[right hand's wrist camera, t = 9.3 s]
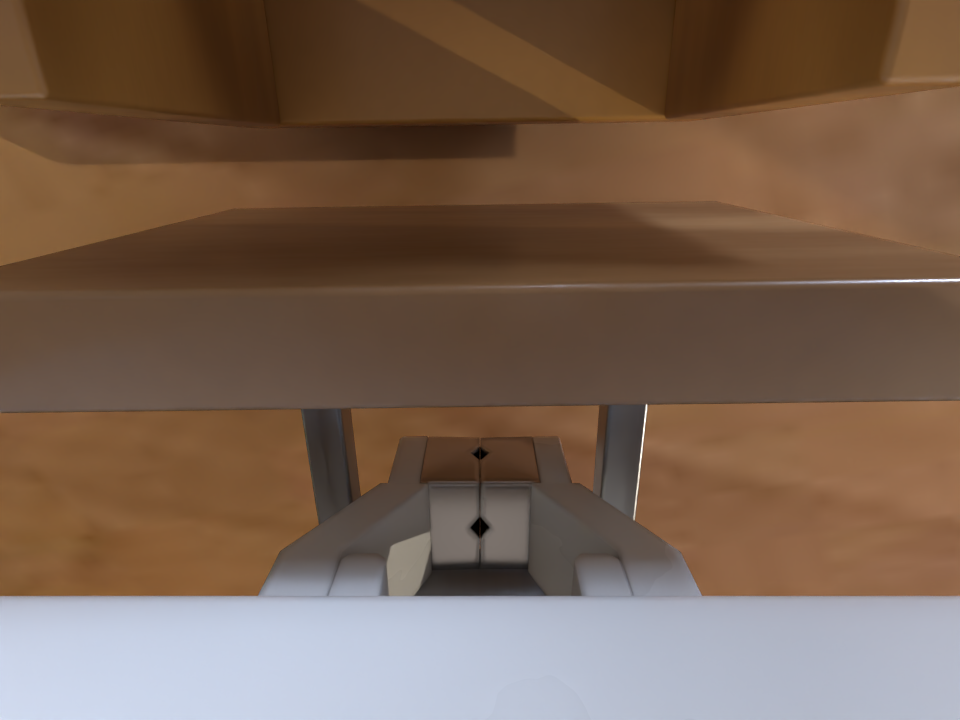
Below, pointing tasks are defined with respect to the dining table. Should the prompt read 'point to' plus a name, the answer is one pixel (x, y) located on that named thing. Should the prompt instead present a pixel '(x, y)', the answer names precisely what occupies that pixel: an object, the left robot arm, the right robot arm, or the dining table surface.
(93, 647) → the right robot arm
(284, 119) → the drawer
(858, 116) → the dining table surface
